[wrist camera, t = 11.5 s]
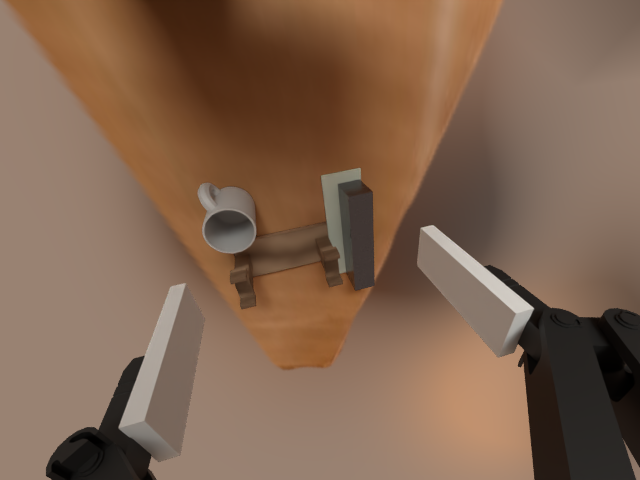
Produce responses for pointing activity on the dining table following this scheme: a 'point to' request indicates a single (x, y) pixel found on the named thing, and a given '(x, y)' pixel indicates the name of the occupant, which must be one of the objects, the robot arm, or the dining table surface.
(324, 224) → the stand
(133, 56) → the dining table surface
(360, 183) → the rail
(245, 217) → the cup
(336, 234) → the mat
